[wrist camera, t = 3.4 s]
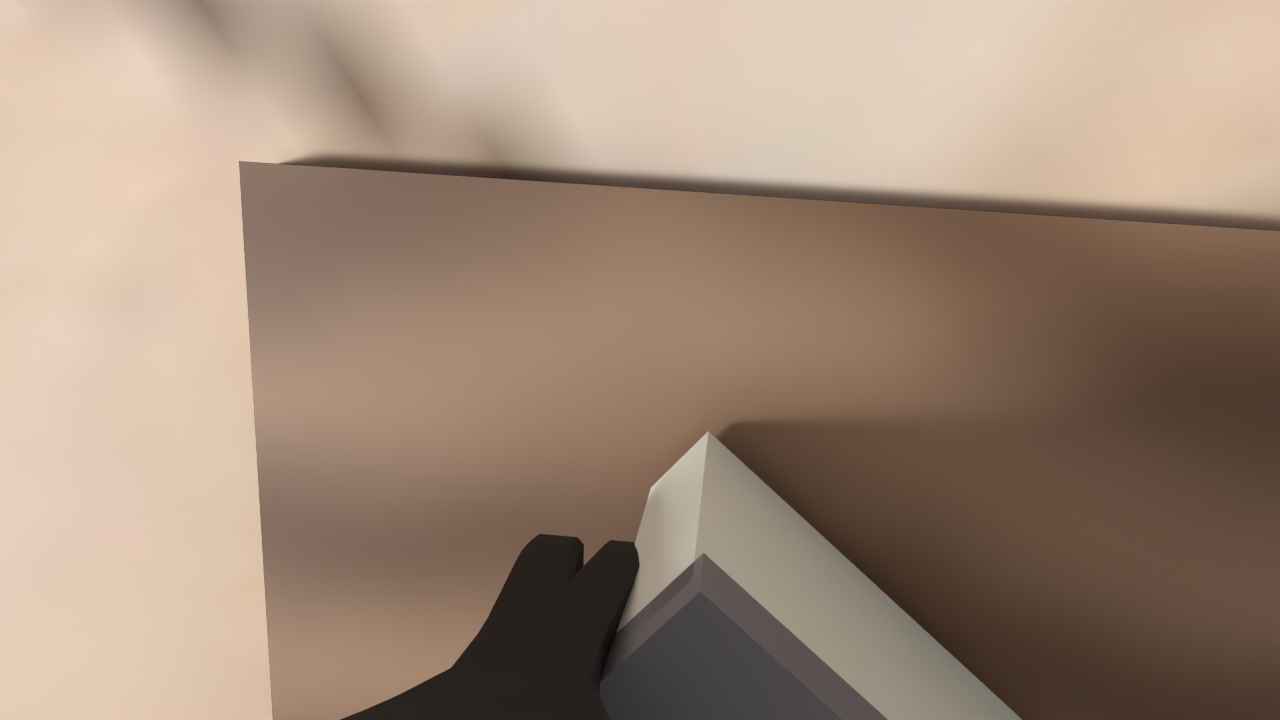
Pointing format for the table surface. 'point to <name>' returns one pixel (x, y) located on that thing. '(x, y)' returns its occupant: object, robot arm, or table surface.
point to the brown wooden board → (769, 420)
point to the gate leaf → (766, 617)
